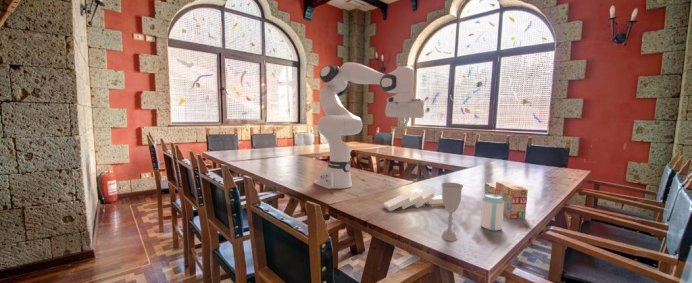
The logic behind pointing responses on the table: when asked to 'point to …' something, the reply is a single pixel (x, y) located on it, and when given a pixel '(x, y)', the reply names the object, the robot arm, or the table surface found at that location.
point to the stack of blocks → (510, 198)
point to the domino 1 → (396, 202)
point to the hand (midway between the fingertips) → (403, 126)
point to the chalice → (451, 206)
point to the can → (492, 212)
